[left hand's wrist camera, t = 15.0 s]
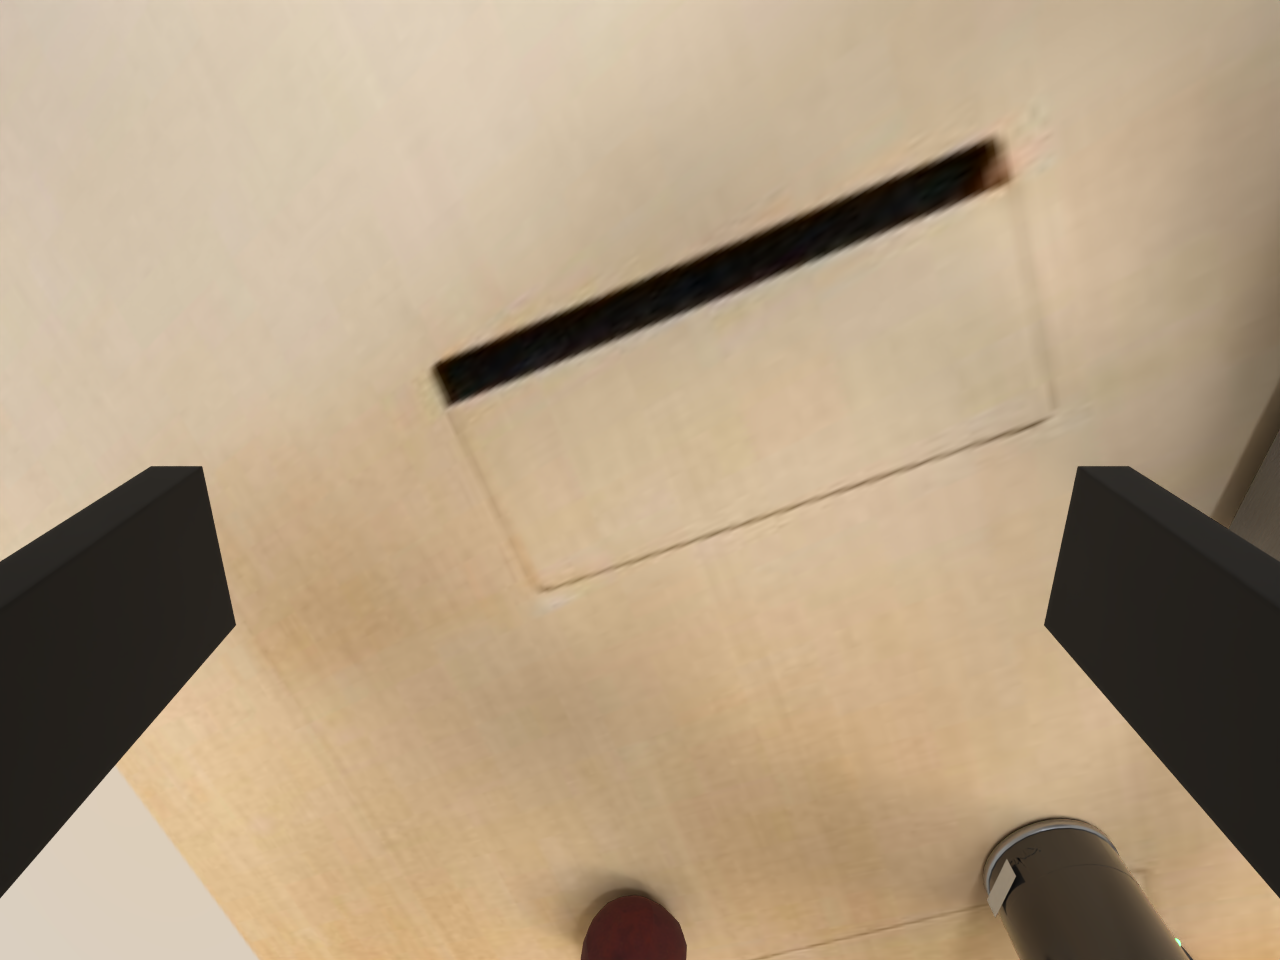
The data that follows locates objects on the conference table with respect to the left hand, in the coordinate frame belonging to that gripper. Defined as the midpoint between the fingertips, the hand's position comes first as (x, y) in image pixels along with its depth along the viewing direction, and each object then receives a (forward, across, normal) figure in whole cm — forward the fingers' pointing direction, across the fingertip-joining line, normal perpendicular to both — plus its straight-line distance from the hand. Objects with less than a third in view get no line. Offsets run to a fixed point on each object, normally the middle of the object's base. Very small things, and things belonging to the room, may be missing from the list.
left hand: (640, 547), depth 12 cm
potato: (+33, 0, -46) cm, 57 cm away
